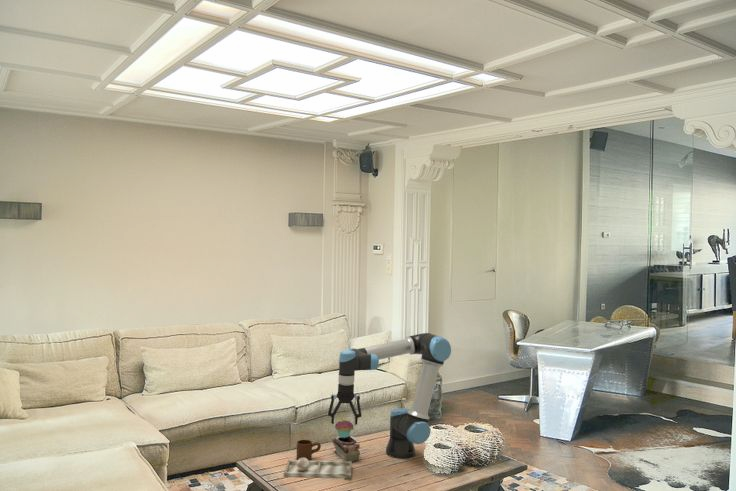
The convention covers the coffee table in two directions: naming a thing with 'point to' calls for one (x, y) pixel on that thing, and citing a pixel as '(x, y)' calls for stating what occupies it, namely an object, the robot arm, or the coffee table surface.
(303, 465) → the wooden egg
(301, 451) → the mug
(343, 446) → the decorative box
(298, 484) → the coffee table surface
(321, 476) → the divided tray
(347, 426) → the cupcake
